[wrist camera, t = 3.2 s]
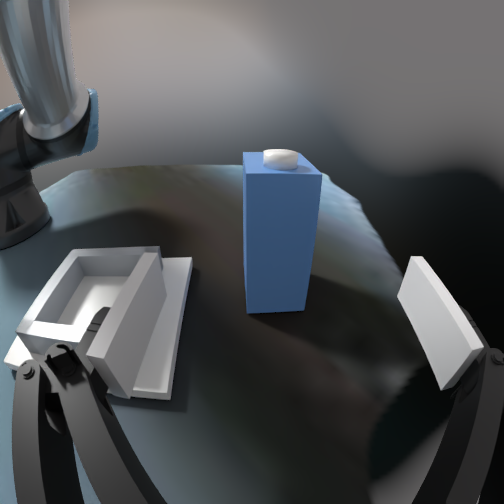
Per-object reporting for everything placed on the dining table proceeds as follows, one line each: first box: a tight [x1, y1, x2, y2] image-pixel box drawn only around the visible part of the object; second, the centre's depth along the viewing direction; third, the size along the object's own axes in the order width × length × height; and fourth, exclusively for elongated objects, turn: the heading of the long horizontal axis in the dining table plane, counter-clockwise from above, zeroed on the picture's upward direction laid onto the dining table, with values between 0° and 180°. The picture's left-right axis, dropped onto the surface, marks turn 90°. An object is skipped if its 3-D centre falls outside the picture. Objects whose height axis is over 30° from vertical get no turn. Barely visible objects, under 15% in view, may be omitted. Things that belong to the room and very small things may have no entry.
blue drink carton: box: [243, 149, 322, 313], centre depth 23 cm, size 7×5×13 cm
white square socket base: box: [4, 246, 193, 400], centre depth 21 cm, size 16×16×4 cm
